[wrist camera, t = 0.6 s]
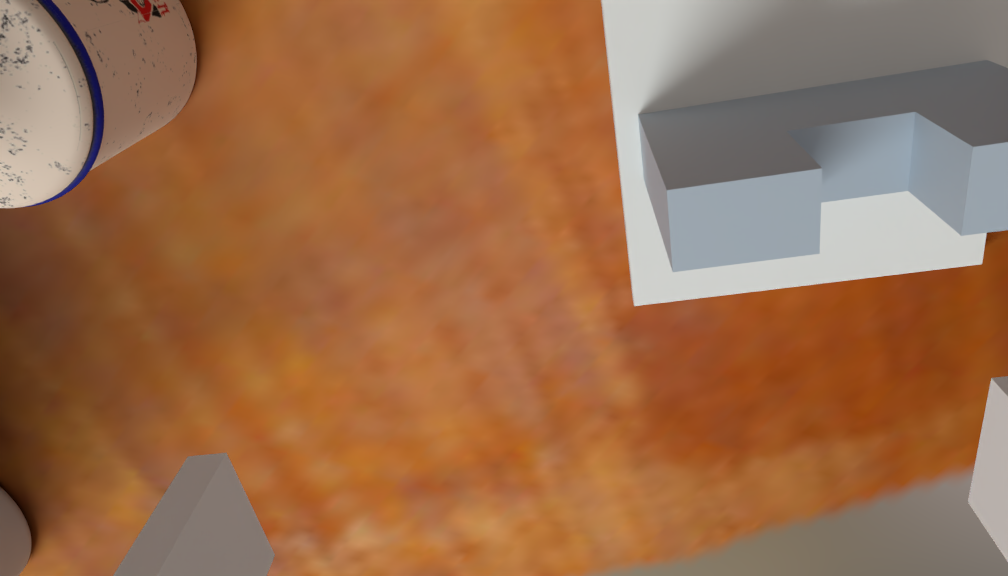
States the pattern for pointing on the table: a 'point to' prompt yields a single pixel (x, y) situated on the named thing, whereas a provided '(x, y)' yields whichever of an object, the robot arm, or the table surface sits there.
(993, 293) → the table surface
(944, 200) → the slotted stand
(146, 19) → the teacup with lid
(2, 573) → the cylinder vase
